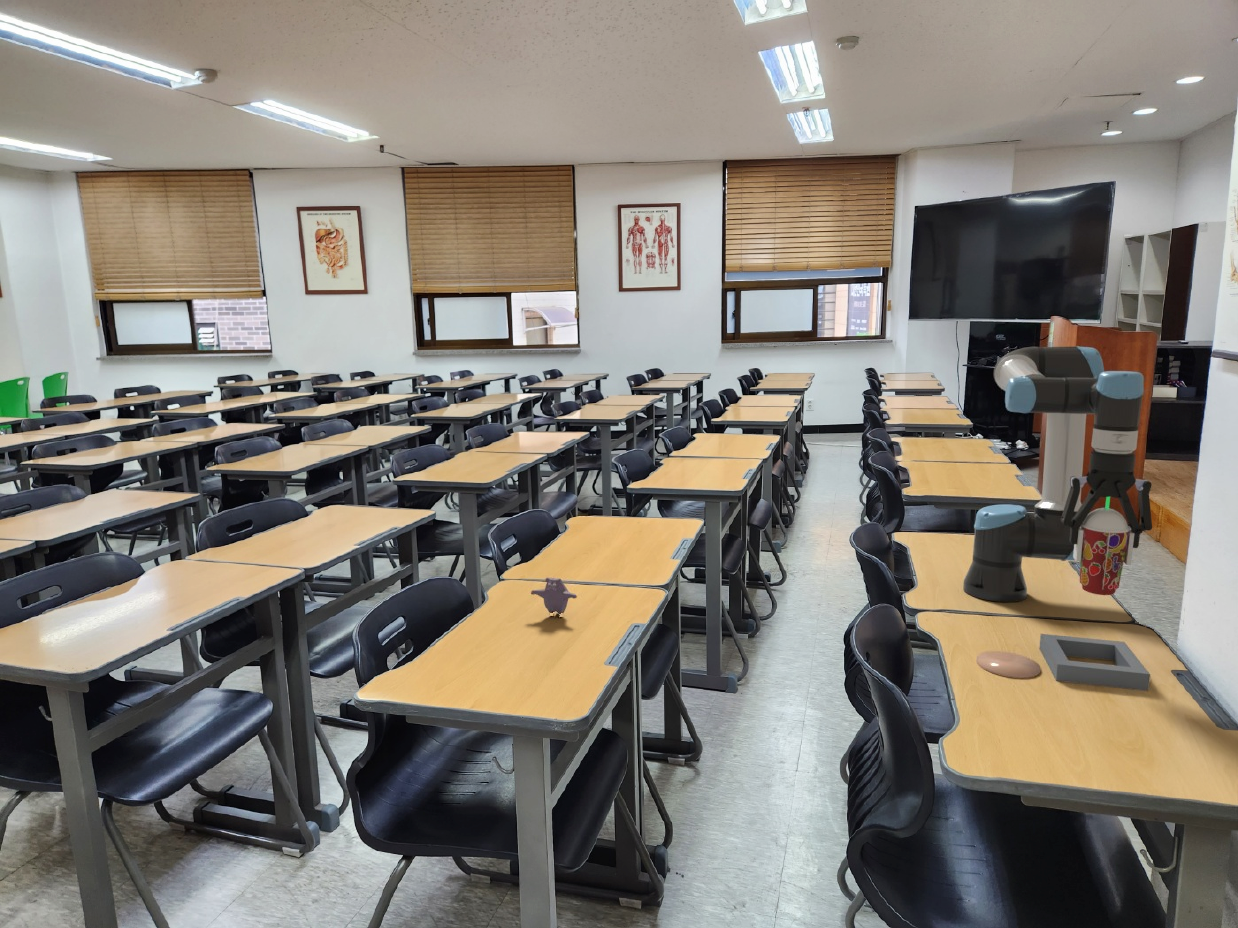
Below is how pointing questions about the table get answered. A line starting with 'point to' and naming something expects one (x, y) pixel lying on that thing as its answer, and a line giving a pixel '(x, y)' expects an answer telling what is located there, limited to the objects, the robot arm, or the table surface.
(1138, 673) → the holder
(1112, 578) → the smoothie
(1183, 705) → the table surface
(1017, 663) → the pink flat disc
